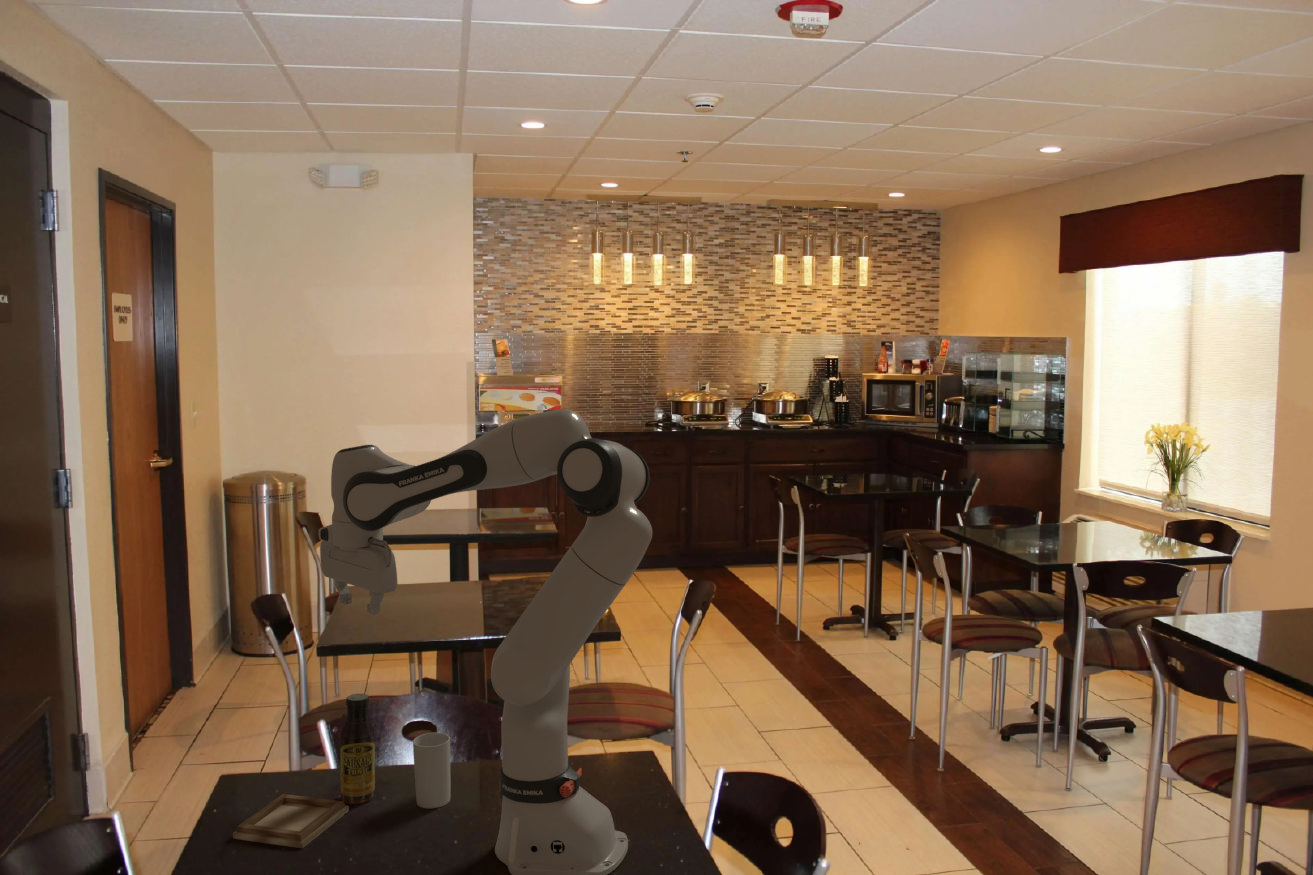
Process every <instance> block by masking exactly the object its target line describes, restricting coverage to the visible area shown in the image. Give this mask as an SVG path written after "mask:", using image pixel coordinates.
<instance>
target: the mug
mask: <svg viewBox="0 0 1313 875" xmlns="http://www.w3.org/2000/svg"><path fill="white" fill-rule="evenodd" d="M412 745H413V746H412V750H413V751H412V752H413V754H412V755H413V766H414V767H413V768H414V783H415V798H416V800H415V801H416V804H417V806H418V807H420V808H423V809H428V810H429V809H438V808H442V807H444V806H446V805H447V804H449V803H450V801H451V782H452V781H451V737H450V735H448V734H446V733H442V732H428V733H424V734H420V735H418V736H416V737H415V738H413V740H412Z"/></svg>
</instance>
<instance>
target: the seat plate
mask: <svg viewBox="0 0 1313 875" xmlns="http://www.w3.org/2000/svg"><path fill="white" fill-rule="evenodd" d="M349 806H350V805H346V804H345V802H344V801H342V800H334V799H327V798H320V797H319V798H318V797H311V796H302V795H296V794H295V795H294V794H288V793H287V794H286V793H283V794H281V795H280V796H279V797H277V798H275V799H274V800H272V801H271V802H270V803H268V804H267V805H265V806H264V807H262V809H260V810H259V811H257V812H255V813H254V814H252V815H251V816H250V817H249V818H248V817H247V819H245V820H244V821H243V822H241V823H240V824H238V825H237V826H236V830H235V831H233V832H232V839H235V840H241V841H248V842H254V843H255V842H256V843H262V844H267V845H268V844H269V845H276V846H283V847H289V848H296V849H297V848H298V849H304V848H305V847H306V846H308V845H309V844H310V843H311V842H313V841H314V840H315V839H316V838H318V836H320V835H321V834H322V833H324V832H325V831H326V830H328V828H330V827H331V826H332V825H334V824H335V823H336V822H338V820H340V819H341V818H342V817H344V816H345V815H346V814H347V813H349V812H350V811H349V810H350V807H349ZM345 813H346V814H345ZM344 814H345V815H344Z"/></svg>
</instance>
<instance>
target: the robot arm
mask: <svg viewBox="0 0 1313 875" xmlns="http://www.w3.org/2000/svg"><path fill="white" fill-rule="evenodd" d="M590 433H591V432H590V430H589V427H588V425H587V423H586V421H585V420H584V418H583V417H582V416H581V414H579V413H578V412H576V411H575V410H571V409H569V408H560V409H552V410H547V411H542V412H537V413H533V414H530V415H526V416H523V417H519V418H516V419H514V420H511V421H509V422H506V423H504V424H501V425H499V426H497V427H495V428H494V429H492V430H489V431H488V432H486V433H483V435H480V436H478V437H476V438H475V439H474V440H472V441H470V442H467V443H466V444H464V445H463V446H461V447H459V448H457V449H455V450H453V451H452V452H449V453H448V454H445V455H443V456H441V457H438V458H436V459H433V460H431V461H430V460H429V461H427V462H424V463H421V464H418V465H415V464H414V465H412V464H409V463H405V462H404V461H400V460H397V459H395V458H393V457H391V456H390V455H388V454H386V453H384V452H383V451H382V450H381V449H380V448H379V447H378V446H377V445H374V444H363V445H359V446H352V447H348V448H342V449H340V450H338V451H337V452H336V453H335V455H334V457H333V461H332V464H331V476H330V477H331V478H330V479H331V480H330V485H331V486H330V493H331V499H332V501H333V502H332V503H333V511H332V515H331V524H329V525H326V526H323V527H320V528H319V529H318V533H317V534H318V539H319V540H320V541H321V542H320V546H319V553H320V554H319V559H320V568H321V569H320V570H321V571H322V574H323V576H324V577H325V578H329V579H331V580H334V586H335V589H336V591H337V593H338V602H339V604H341V605H344V606H346V605H351V603H352V601H353V600H352V597H353V594H352V593H350V589H349V586H348V585H351V586H353V587H357V588H360V589H364V590H367V591H369V594H368V595H369V596H370V601H369V603H367V604H366V608H367V610H366V612H367V613H368V614H371V615H376V614H380V612H381V603H382V600H383V598H384V596H385V594H387V593H391V592H395V590H397V587H398V572H397V563H396V562H397V561H396V558H395V557H396V556H395V553H394V552H393V550H392V548H391V547H390V546H389V544H388V542H387V540H384V528H385V527H387V526H389V525H392V524H394V523H398V522H400V521H403V520H407V519H409V518H412V517H414V516H416V515H419V514H421V513H422V512H424V511H425V510H426V509H427V508H428V507H429V505H430V504H431V502H432V501H433V500H436V499H440V498H443V497H445V496H448V495H453V494H457V493H458V494H459V493H465V492H470V491H471V492H472V491H482V490H491V489H502V488H509V487H510V488H511V487H515V486H521V485H526V484H530V483H532V482H533V483H534V482H536V481H540V480H542V479H545V478H548V477H551V476H555V475H557V479H558V482H559V485H560V486H561V488H562V490H563V492H564V493H565V494H566V496H568V498H569V499H570V500H571V501H572V502H571V503H573V504H574V507H575V508H576V509H577V511H578V513H579V514H580V515H582V516H584V517H587V520H586V523H585V525H584V527H583V529H582V530H581V532H580V533H579V535H578V536H577V537H576V539H575V540H574V541H573V543H572V544H571V545H570V547H569V549H567V551H566V552H565V554H564V555H563V557H562V558H561V560H560V561H559V562H558V564H557V565H556V567H555V568H554V569H553V570H552V572H551V574H549V576H548V578H547V579H546V581H544V583H543V584H542V585H541V588H540V589H538V591H537V593H536V594H535V596H534V597H533V598H532V600H531V601H530V603H528V605H527V607H526V608H525V610H524V611H523V612H522V614H521V615H520V617H518V619H517V621H516V622H515V623H514V625H513V626H512V628H511V629H510V630H509V631H508V632H507V635H506V636H505V637H504V639H503V640H502V642H501V643H500V644H499V646H498V647H497V649H496V650H495V652H494V655H493V658H492V660H491V661H492V662H491V668H490V681H491V686H492V687H493V690H494V692H495V693H496V694H497V695H498V697H499V698H500V699H502V700H503V701H504V702H503V709H502V710H503V711H502V717H501V723H500V724H501V725H500V726H501V727H500V729H501V730H500V731H501V734H500V735H501V758H502V759H501V762H502V763H501V764H502V765H501V767H500V769H499V770H500V771H499V791H500V794H499V795H500V799H501V800H502V802H501V805H502V806H501V815H500V824H499V831H498V835H497V840H496V844H495V847H494V853H495V856H496V857H497V859H498V860H499V861H500V862H502V863H503V864H505V866H507V869H508V872H509V873H510V874H511V875H608V874H610V873H612V872H613V871H614V870H616V869H617V867H619V866H620V864H621V863H622V862H623V860H624V858H625V857H626V854H628V853H627V852H628V849H629V841H628V836H627V834H626V833H625V832H624V831H623V832H622V831H620V830H616V828H615V823H614V820H613V816H612V812H611V810H610V808H608V806H606V805H605V804H604V803H602V801H601V802H600V801H599V799H597V798H595V797H594V796H593V795H591V794H590V793H589V792H588V791H587V790H585V789H584V788H583V787H581V786H580V777H581V776H582V774H583V772H582V767H579V769H578V770H577V771H576V770H574V768H573V767H572V765H571V764H570V762H569V752H568V751H569V745H568V743H569V742H568V741H569V740H568V714H569V713H568V712H569V701H570V700H569V698H570V678H571V663H572V661H573V660H574V659H575V657H576V656H577V655H578V653H579V652H580V650H581V649H582V647H583V646H584V644H585V643H586V641H587V640H588V638H589V637H590V635H591V634H592V632H593V630H594V629H595V627H596V626H597V625H598V623H599V622H600V621H601V619H602V618H603V616H604V615H605V614H606V612H607V611H608V609H609V608H610V606H611V605H612V604H613V603H614V601H615V600H616V599H617V597H618V595H619V594H620V593H621V592H622V590H623V589H624V587H625V586H626V585H627V583H628V582H629V580H630V579H631V578H632V576H633V574H634V573H635V571H636V570H637V568H638V567H639V565H640V564H641V562H642V560H643V558H644V557H645V554H646V552H647V550H648V548H649V545H650V544H651V541H652V539H653V527H652V524H651V522H650V520H649V519H648V517H647V516H646V514H644V513H643V512H642V510H640V509H638V507H637V506H636V503H637V502H639V501H640V500H642V498H643V497H644V495H645V494H646V492H647V491H648V488H649V486H650V481H651V473H650V469H649V466H648V464H647V462H646V460H645V459H644V458H643V456H642V455H641V454H640V453H638V452H637V451H636V450H634V449H632V448H630V447H628V446H624V445H623V444H621V443H619V442H617V441H612V440H606V439H601V438H600V439H599V438H594V437H592V436H591V434H590Z"/></svg>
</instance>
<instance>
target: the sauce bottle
mask: <svg viewBox="0 0 1313 875" xmlns="http://www.w3.org/2000/svg"><path fill="white" fill-rule="evenodd" d="M369 698H370V697H369V694H366V693H353V694H350V695H348V696H347V697H346V699H345V700H346V701H345V704H346V706H347V708H346V709H347V714H346V715H347V716H346V722H345V723H344V724H343V727H342V729H341V731H340V747H339V748H340V754H339V755H340V768H339V769H340V772H339V773H340V791H339V792H340V799H341V801H344V803H346V804H348V805H359V804H363V803H366V802H367V803H368V802H370V801H371V800H372V798H373V797H374V795H375V788H376V786H375V785H376V784H375V783H376V779H375V777H376V776H375V772H376V771H375V770H376V769H375V768H376V759H375V758H376V756H375V755H376V753H375V751H376V748H375V747H376V746H375V744H376V743H375V728H374V726H373V724H372V722H370V720H369V712H368V710H369V707H368V706H369V701H370V699H369Z"/></svg>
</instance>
